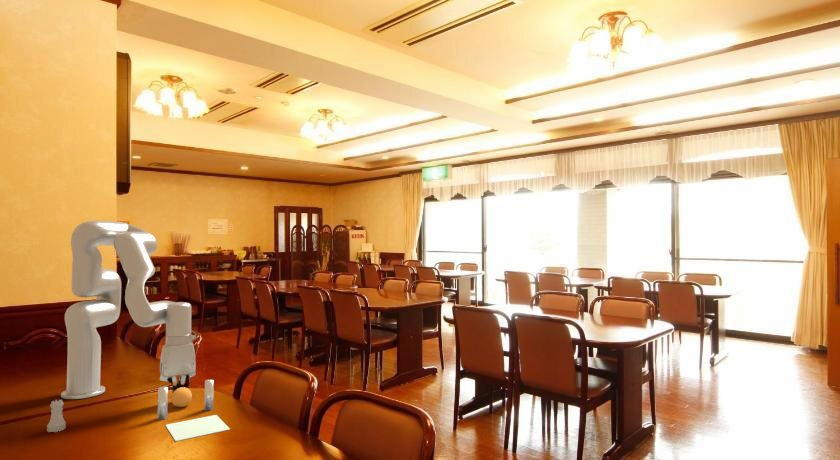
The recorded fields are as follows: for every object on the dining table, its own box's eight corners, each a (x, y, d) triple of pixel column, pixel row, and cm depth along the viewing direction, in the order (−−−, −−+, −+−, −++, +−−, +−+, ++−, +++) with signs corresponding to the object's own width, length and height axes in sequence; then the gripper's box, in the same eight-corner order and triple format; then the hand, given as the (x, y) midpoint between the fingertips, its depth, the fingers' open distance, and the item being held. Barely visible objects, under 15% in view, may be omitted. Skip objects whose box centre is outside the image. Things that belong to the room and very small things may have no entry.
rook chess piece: (55, 433, 135) (56, 404, 135) (42, 432, 136) (42, 403, 136) (70, 427, 140) (70, 399, 140) (57, 426, 140) (57, 398, 141)
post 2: (203, 409, 156) (203, 380, 156) (211, 407, 157) (212, 378, 158) (205, 411, 154) (205, 382, 154) (214, 409, 155) (214, 380, 155)
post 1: (156, 417, 148) (157, 387, 148) (166, 415, 149) (167, 385, 150) (158, 420, 146) (159, 389, 146) (168, 418, 147) (168, 388, 148)
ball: (172, 385, 156) (174, 404, 153) (192, 382, 159) (195, 400, 157) (168, 393, 159) (170, 411, 156) (188, 390, 163) (190, 408, 160)
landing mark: (165, 425, 142) (165, 424, 142) (216, 415, 150) (216, 414, 150) (175, 441, 131) (175, 440, 131) (230, 429, 139) (230, 428, 139)
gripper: (199, 336, 170) (199, 389, 170) (151, 341, 161) (150, 397, 161) (205, 339, 164) (204, 395, 164) (155, 345, 155) (154, 404, 155)
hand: (177, 396), depth 162 cm, fingers closed
